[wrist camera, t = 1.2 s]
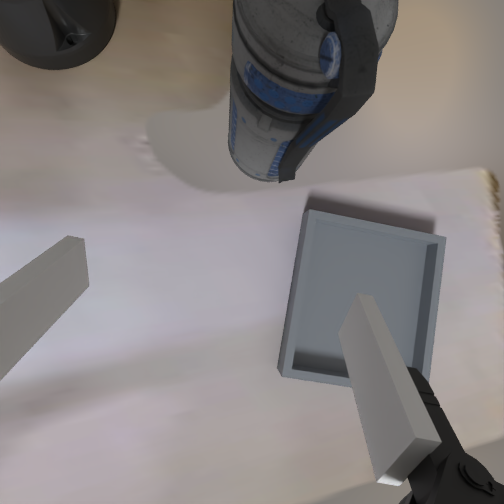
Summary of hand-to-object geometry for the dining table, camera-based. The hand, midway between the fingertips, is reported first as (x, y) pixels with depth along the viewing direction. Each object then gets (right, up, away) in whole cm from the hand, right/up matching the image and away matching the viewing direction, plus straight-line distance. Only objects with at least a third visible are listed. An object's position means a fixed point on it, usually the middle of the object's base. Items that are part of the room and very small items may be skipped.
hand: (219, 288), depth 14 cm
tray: (+15, -5, +24) cm, 29 cm away
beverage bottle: (+4, +15, +24) cm, 29 cm away
